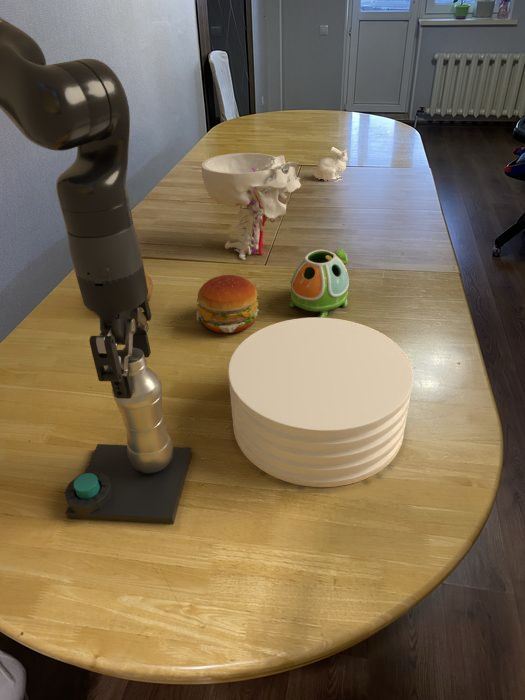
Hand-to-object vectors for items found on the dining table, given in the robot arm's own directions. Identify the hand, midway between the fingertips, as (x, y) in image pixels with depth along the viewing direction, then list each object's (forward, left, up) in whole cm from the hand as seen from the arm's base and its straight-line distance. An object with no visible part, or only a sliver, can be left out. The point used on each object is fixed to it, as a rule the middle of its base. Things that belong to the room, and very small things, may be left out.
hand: (134, 375), depth 68 cm
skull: (+8, +80, -18) cm, 82 cm away
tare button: (-8, -7, -16) cm, 18 cm away
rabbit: (+31, +139, -18) cm, 144 cm away
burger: (+6, +42, -18) cm, 46 cm away
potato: (-17, +49, -18) cm, 55 cm away
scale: (-2, -3, -18) cm, 19 cm away
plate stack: (+25, +12, -18) cm, 33 cm away
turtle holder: (+26, +51, -18) cm, 60 cm away
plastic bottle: (0, 0, -17) cm, 17 cm away
